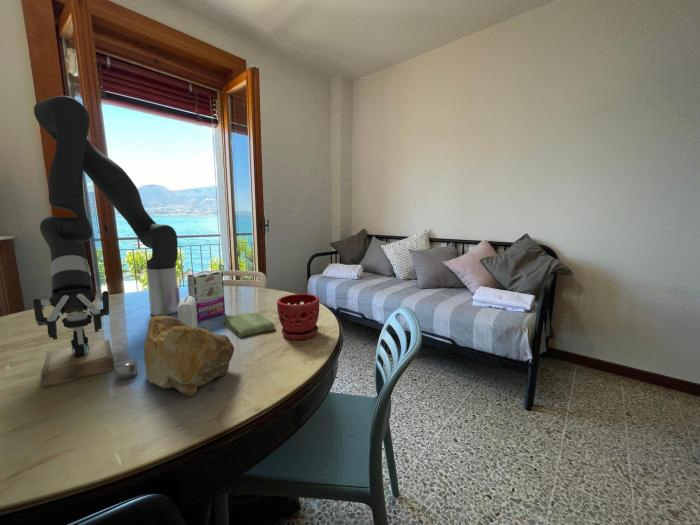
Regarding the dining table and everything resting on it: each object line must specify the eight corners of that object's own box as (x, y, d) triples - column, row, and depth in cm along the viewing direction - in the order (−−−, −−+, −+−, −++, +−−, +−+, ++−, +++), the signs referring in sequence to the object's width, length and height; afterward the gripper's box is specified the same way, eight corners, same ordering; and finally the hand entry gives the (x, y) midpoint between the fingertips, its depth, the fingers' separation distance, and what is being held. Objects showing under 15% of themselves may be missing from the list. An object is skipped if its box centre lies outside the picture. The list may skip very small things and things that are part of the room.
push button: (63, 351, 73) (59, 312, 71) (91, 344, 77) (88, 307, 75) (67, 360, 69) (63, 319, 67) (97, 353, 73) (93, 314, 71)
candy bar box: (217, 311, 116) (215, 269, 113) (225, 313, 113) (223, 271, 111) (189, 319, 106) (186, 274, 104) (197, 322, 104) (194, 276, 101)
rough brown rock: (255, 386, 68) (257, 321, 67) (176, 416, 55) (177, 337, 54) (208, 356, 83) (209, 303, 82) (137, 375, 70) (137, 312, 69)
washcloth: (258, 316, 112) (258, 308, 112) (277, 331, 98) (277, 322, 98) (222, 323, 105) (221, 314, 104) (236, 340, 91) (236, 330, 90)
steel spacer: (136, 369, 72) (135, 358, 72) (138, 376, 69) (137, 364, 69) (115, 375, 69) (114, 363, 69) (117, 382, 66) (115, 370, 66)
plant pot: (303, 324, 105) (303, 290, 103) (327, 335, 95) (327, 298, 94) (269, 333, 95) (269, 297, 94) (293, 346, 86) (292, 307, 84)
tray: (110, 349, 82) (108, 338, 81) (114, 369, 72) (113, 357, 71) (48, 363, 74) (46, 350, 73) (43, 388, 64) (41, 373, 63)
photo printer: (184, 330, 96) (181, 293, 94) (198, 329, 98) (196, 292, 96) (178, 343, 87) (175, 302, 85) (194, 341, 88) (192, 301, 86)
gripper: (28, 271, 70) (29, 334, 63) (106, 265, 79) (115, 320, 73) (33, 289, 75) (35, 349, 68) (107, 281, 84) (115, 333, 77)
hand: (76, 334), depth 70 cm, fingers open, 6 cm apart
